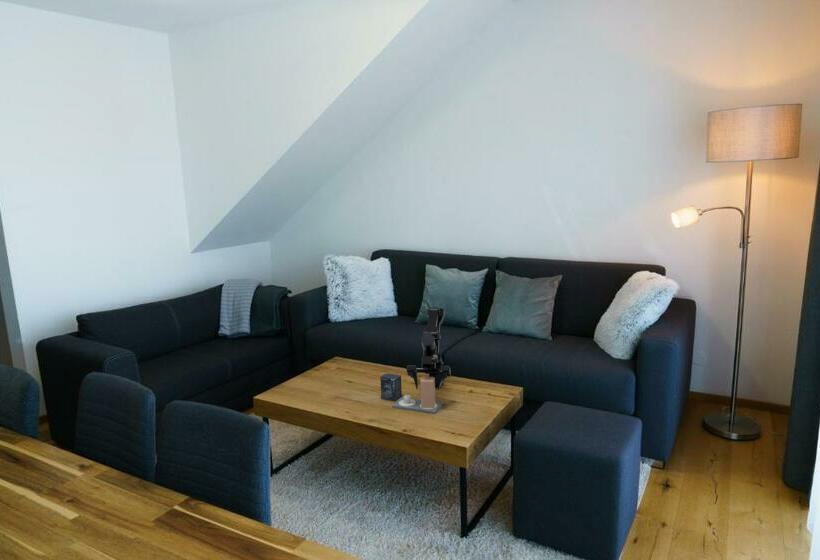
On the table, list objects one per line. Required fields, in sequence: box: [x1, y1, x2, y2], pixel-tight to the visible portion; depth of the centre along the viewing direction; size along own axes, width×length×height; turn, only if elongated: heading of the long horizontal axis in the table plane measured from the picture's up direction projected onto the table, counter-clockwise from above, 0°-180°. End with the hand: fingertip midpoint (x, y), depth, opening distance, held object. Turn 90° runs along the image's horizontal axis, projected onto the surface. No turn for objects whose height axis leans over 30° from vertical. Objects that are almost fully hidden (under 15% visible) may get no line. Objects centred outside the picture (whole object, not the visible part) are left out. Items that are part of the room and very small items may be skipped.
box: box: [379, 372, 403, 402], centre depth 262 cm, size 8×6×11 cm
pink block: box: [419, 376, 436, 408], centre depth 249 cm, size 6×6×12 cm
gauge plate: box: [391, 394, 444, 415], centre depth 252 cm, size 10×20×4 cm, turn 67°
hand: (427, 389), depth 247 cm, fingers open, 9 cm apart
